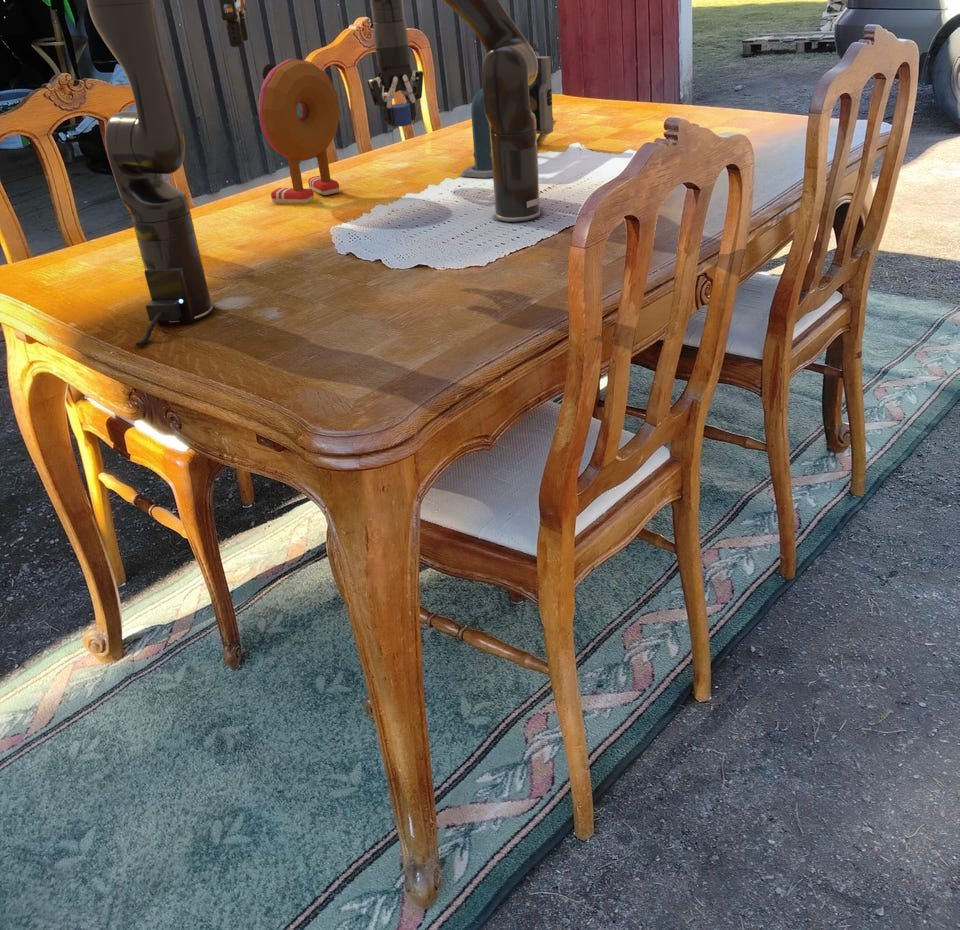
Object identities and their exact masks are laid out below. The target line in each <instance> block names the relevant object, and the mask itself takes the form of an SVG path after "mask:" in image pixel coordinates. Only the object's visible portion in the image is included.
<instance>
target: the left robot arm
mask: <svg viewBox="0 0 960 930" xmlns="http://www.w3.org/2000/svg"><path fill="white" fill-rule="evenodd" d="M154 1H155V0H86V3H87V8H88V12H89V15H90V18H91V21H92V23H93V25H94V27H95V29H96V31H97V33H98V34H99V35H100V37H101V39H102V41H103V42H104V44H105V45H106V46H107V48H108V49H109V51H110V52H111V54H112V55H113V56H114V58H115V59H116V61H117V62H118V64H119V66H120V67H121V68H122V71H123V72H124V74H125V76H126V78H127V81H128V83H129V86H130V89H131V93H132V96H133V100H134V101H133V102H134V105H135V110H122V111H118V112H115V113H114V114H112V115H111V117H109V119H108V121H107V123H106V126H105V130H104V144H105V150H106V155H107V159H108V162H109V165H110V168H111V171H112V175H113V178H114V181H115V185H116V187H117V190H118V193H119V196H120V199H121V201H122V203H123V204H124V206H125V207H126V208H127V210H128V212H129V214H130V218H131V221H132V225H133V229H134V233H135V237H136V240H137V245H138V248H139V253H140V256H141V260H142V264H143V267H144V271H143V272H144V276H145V280H146V283H147V284H146V285H147V288H148V293H149V297H150V301H149V302H148V303H147V304H145V309H146V313H147V316H148V320H149V322H150V323H149V325H148V328H147V329H146V332H145V335H144V337H143V338H142V339H140V340H138V341H137V342H136V343H135V345H136V346H137V347H142V346H143V345H145V344H147V342H148V341H149V339H150V338H151V335H152V332H153V329H154V328H155V326H156V325H188V324H189V325H192V324H194V323H195V322H196V321H199V320H201V319H203V318H206V317H207V316H209V315H211V314H212V312H213V311H214V307H213V303H212V301H211V296H210V292H209V287H208V284H207V279H206V274H205V270H204V265H203V262H202V261H203V260H202V257H201V252H200V248H199V244H198V239H197V235H196V231H195V225H194V221H193V218H192V213H191V209H190V205H189V204H190V203H189V200H188V197H187V195H186V193H184V192H183V191H182V190H181V189H179V188H177V187H175V186H173V184H171V185H170V184H169V183H168V182H167V181H166V180H165V179H164V178H163V176H162V174H169V175H170V174H174V173H176V172H177V171H179V169H181V167H182V165H183V163H184V161H185V156H186V140H185V139H186V138H185V132H184V127H183V124H182V120H181V117H180V116H181V115H180V113H179V109H178V106H177V103H176V98H175V95H174V91H173V88H172V85H171V82H170V77H169V73H168V69H167V64H166V60H165V55H164V52H163V51H164V50H163V47H162V41H161V36H160V31H159V28H158V27H159V26H158V21H157V15H156V9H155V2H154ZM218 2H219V9H220V12H221V13H220V14H221V19H222V21H223V22H224V24H225V25H226V30H227V36H228V41H229V45H230V47H231V48H239V47H242V46H243V45H244V42H246V41H247V40H248V39H249V34H248V29H247V24H246V23H247V22H246V15H247V14H246V13H247V12H246V11H247V8H246V4H245V0H218Z"/></svg>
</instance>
